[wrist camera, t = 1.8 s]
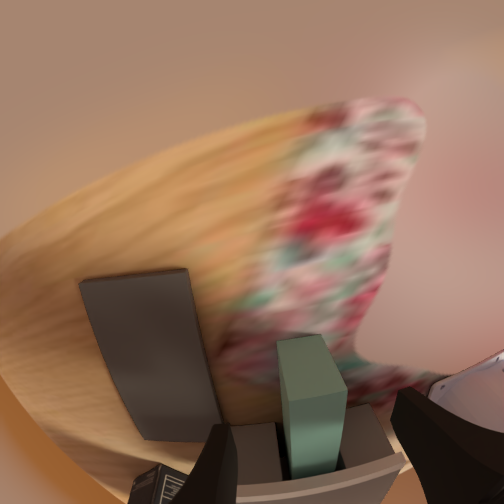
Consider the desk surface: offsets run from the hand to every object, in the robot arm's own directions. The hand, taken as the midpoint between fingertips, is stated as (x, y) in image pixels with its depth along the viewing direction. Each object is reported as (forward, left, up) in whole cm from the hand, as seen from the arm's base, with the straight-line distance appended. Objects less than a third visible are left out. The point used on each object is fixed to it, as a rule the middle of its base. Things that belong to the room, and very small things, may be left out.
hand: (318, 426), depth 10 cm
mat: (+8, 0, -5) cm, 9 cm away
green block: (0, +4, -5) cm, 6 cm away
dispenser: (0, +8, -5) cm, 10 cm away
